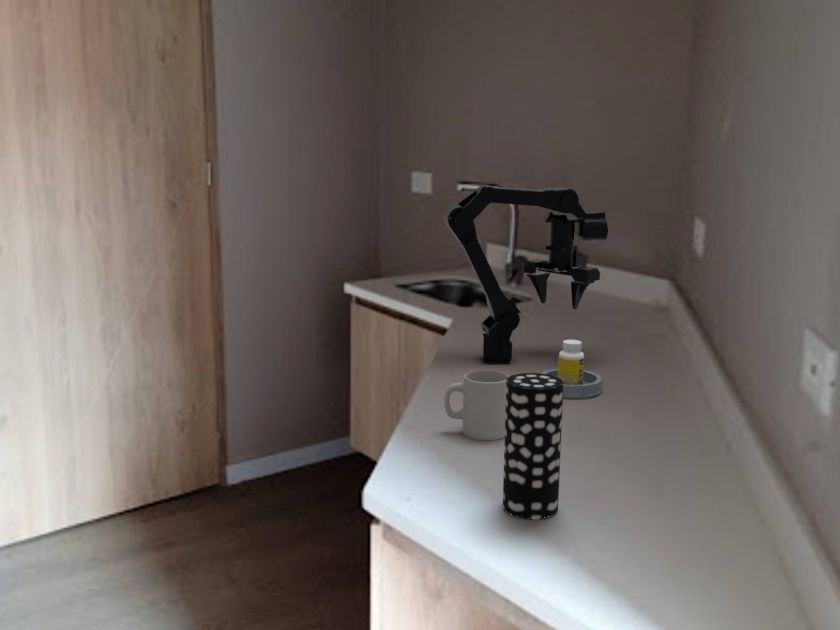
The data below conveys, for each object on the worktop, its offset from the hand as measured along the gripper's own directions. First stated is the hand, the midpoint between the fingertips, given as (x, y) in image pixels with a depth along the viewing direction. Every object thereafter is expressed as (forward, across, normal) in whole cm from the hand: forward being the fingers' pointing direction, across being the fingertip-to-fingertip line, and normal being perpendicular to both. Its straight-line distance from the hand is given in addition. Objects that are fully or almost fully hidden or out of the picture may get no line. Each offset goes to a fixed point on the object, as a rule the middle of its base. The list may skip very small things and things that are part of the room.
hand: (559, 306), depth 219 cm
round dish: (+13, -17, +18) cm, 28 cm away
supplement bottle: (+12, -17, +18) cm, 28 cm away
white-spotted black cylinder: (+13, -48, +72) cm, 88 cm away
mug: (+13, -20, +53) cm, 58 cm away
